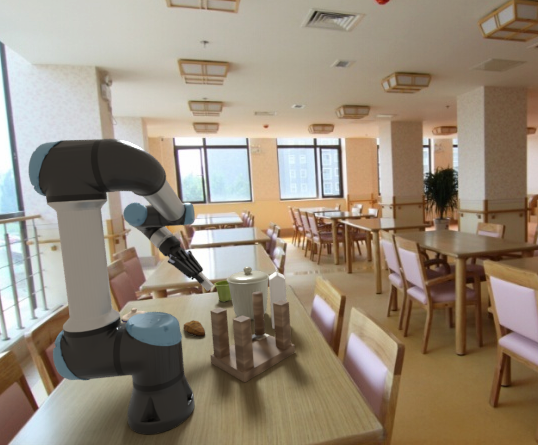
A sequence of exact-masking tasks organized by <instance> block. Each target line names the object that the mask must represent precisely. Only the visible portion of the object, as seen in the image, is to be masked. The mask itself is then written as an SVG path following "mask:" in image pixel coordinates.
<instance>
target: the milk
mask: <svg viewBox="0 0 538 445" xmlns="http://www.w3.org/2000/svg"><path fill="white" fill-rule="evenodd" d="M286 285H287V283H286V278H285V275H284V274H282V273H280V272H278V270H277V268H275V271H274V272H273V273H271V274H269V279H268V288H269V301H270V315H271V326H272V327H271V328H272V329H274V330H275V326H274V310H273V303H274V302H277V301H279V300H283V301H287V300H288V299H287V286H286ZM287 302H288V301H287Z"/></svg>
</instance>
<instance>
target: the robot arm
mask: <svg viewBox="0 0 538 445" xmlns="http://www.w3.org/2000/svg"><path fill="white" fill-rule="evenodd" d="M28 178H29V182H30V184H31V185H32V187H33V190H34V192H36V193H37V194H38V195H41V196H43V197H45V199H46V200H45V201H46V205H47V206H49V208H51V209H53V210H54V211H55V212H56V218H57V227H58V235H59V242H60V250H61V258H62V259H61V260H62V265H63V266H62V267H63V275H64V282H65V290H66V296H67V306H68V313H69V314H68V315H69V317H68V319H67V320H66V321H65V322H64V323H63V325H62V330H61V331H60V332H59V333H58V335H57V337H56V339H55V340H54V346H55V347H53V349H52V358H53V360H52V361H53V364H54V368H55V369H56V372H57V373H58V375H60V376H61V377H62V378H64V379H67V381H68V380H69V381H78V380H79V381H90V380H95V379H103V378H104V379H105V378H114V377H124V376H125V377H126V376H131V380H132V389H131V395H130V399H129V404H128V407H127V423H128V425H129V428H130V429H131V430H132V431H133V432H135V433H138V434H143V435H155V434H160V433H164V432H167V431H169V430H172V429H173V428H176V427H177V426H179V425H180V424H182V423H183V422H185V421H186V420H187V419H188V418H189V417H190V415H191V414H192V413H193V411H194V408H195V395H194V391H193V389H192V387H191V386H190V383H189V380H188V379H187V377H186V374H185V364H184V353H183V341H182V338H183V335H182V331H181V326H180V325H181V324H180V321H179V319H178V318H177V317H176V316H175V315H173V314H171V313H168V312H164V311H148V312H147V311H145V313H144V314H137V315H134V316H132V317H131V318H129V319H128V321H127V323H122V321H121V319H122V318H121V313H120V312H119V311H118V310H116V309H114V308H113V305H112V304H113V303H112V295H111V294H112V293H111V287H110V286H111V284H110V279H109V278H110V277H109V269H108V260H107V259H108V258H107V251H106V242H105V234H104V223H103V217H102V208H103V206H104V205H105V204H106V203H107V202H108V195H107V193H114V192H115V193H116V192H132V193H133V194H134V195H136V196H138V197H143V199H145V200H146V201H147V202H148V203H149V205H148V204H147V205H144V204H142V203H140V202H130V203H129V204H127V205H126V206H125V208H124V209H123V218H124V220H125V222H127V223H128V225H130V226H131V227H133V228H135V229H137V230H138V231H139V232H140V233H141V234H143V235H144V236H145V237H146V238H147V240H149V242H150V243H152V244H153V245H154V246H153V247H156V249H158V251H159V252H160V254H162V255H163V256H164V257H168V260H167V263H168V264H170V265H171V266H173V267H175V268H176V269H177V270H178V271H180V273H182V274H184V276H185V277H186V278H189V279H190V280H192V281H193V280H194V279H195V280H196V281H197V283H199V284H200V285H201V286H202V288H204V289H205V290H206V292H208V291H210V290H211V289H212V287H213V286H214V283H212V281H211V280H209V279H208V278H207V276H206V275H205V274H204V273H203V271H204V268H203V267H202V266H201V264H200V262H199V261H198V260H197V259H196V258H195V256H194V255H193V252H192V251H191V250H188V251H186V250H185V249H184V248H183V247H181V244H182V243H181V241H180V240H179V239H178V238H177V237H176V236H175V235H174V234H173V233H172V231H170V229H168V227H174V226H186V225H192V224H194V223H195V218H196V217H195V216H196V215H195V207H194V204H193V203H191V202H182V201H181V199H180V198H179V195H177V193H176V192H175V190H174V189H173V187H172V186H171V184H170V182H169V181H168V180H167V174H166V170H165V169H164V167H163V165H162V164H161V162H160V161H159V160H158V159H157V158H156V157H155V156H153V154H151V153H149V152H148V151H146V150H145V149H143V148H141V147H139V146H138V145H136V144H134V143H131V142H129V141H126V140H123V139H118V138H101V139H96V138H95V139H70V140H68V139H67V140H65V139H64V140H63V139H61V140H57V141H51V142H45V143H42V144H40V145H38V146H37V147H36V148H35V150H34V151H33V152H32V153H31V156H30V158H29V162H28Z"/></svg>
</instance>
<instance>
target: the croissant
mask: <svg viewBox="0 0 538 445" xmlns="http://www.w3.org/2000/svg"><path fill="white" fill-rule="evenodd" d="M183 330H184V331H185V332H186V333H187V334H188V335H190V336H191V335H192V336H194V337H200V338H201V337H205V335H206V330H205V328H204V326H203V325H202V324H201V322H200V321H199V320H190V321H187V322H185V323H184V324H183Z"/></svg>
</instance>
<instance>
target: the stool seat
mask: <svg viewBox="0 0 538 445" xmlns="http://www.w3.org/2000/svg"><path fill="white" fill-rule="evenodd" d="M273 310H274V326H275V329H274V336H273V335H270V334H268V333H265V334H264V335H262V336H260V337H258V338H256V339H254V340H252V335H253V334H252V331H253V330H252V320H251V318H249V317H246V316H243V315H242V316H240V317H237V316H236V317H235V318H232V326H233V338H234V339H233V341H234V343H233V344H231V345H230V337H229V324H228V311H227V309H226V308H223V307H216V308H214V309H212V310H210V322H211V324H210V325H211V336H212V346H213V347H212V348H213V353H211V354H210V364H212V365H214V366H215V367H217V368H219V369H221V370H222V371H224V372H225V373H228V374H229V375H231V376H233V377H234V378H236V379H238V380H240V381H241V382H242V383H247V382H248V381H250V380H251V379H253V378H255V377H256V376H258V375H260V374H262V373H263V372H265V371H266V370H269V369H270V368H272V367H273V366H275V365H276V364H279V363H280V362H282V361H284V360H285V359H288V357H290V356H292V355H293V354H295V353H296V347H295V346H296V345H295V344H294V343H292V334H291V332H292V331H291V317H290V316H291V315H290V302H289V301H283V300H279V301H277V302H274V303H273Z"/></svg>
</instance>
